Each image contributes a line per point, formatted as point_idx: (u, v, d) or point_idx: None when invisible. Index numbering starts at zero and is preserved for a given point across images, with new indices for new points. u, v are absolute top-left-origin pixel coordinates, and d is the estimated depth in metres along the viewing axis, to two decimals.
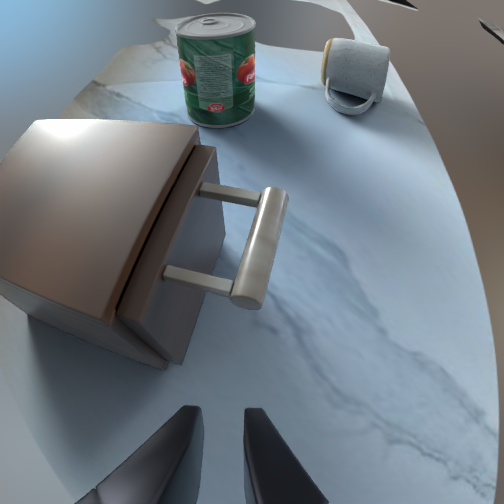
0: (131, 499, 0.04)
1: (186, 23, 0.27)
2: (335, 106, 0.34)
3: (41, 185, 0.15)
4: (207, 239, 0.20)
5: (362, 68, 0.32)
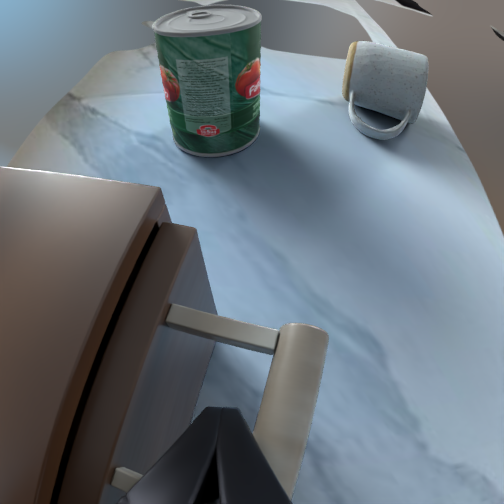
0: None
1: (169, 18, 0.20)
2: (361, 128, 0.27)
3: None
4: (190, 362, 0.12)
5: (396, 80, 0.24)
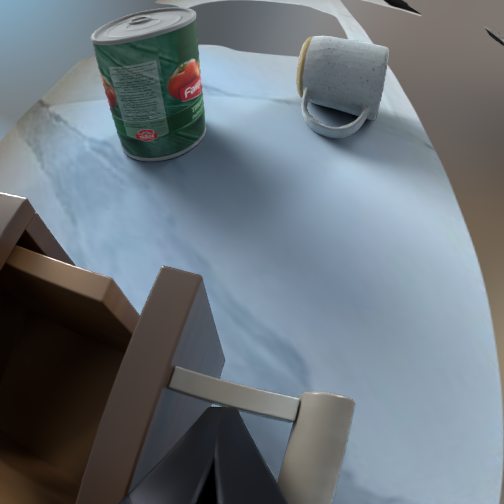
0: None
1: (111, 25, 0.19)
2: (313, 127, 0.26)
3: None
4: (194, 409, 0.11)
5: (350, 74, 0.24)
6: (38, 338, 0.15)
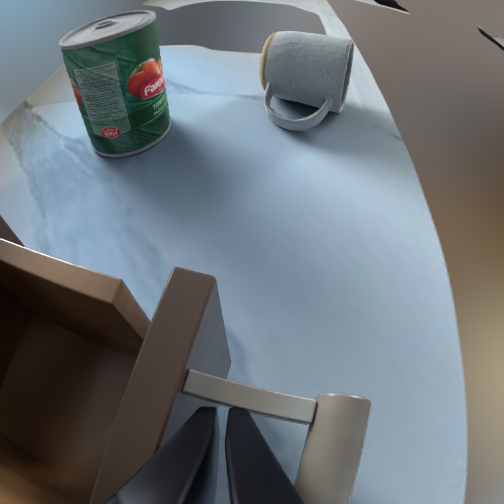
0: (155, 503, 0.04)
1: (80, 30, 0.19)
2: (274, 120, 0.27)
3: None
4: None
5: (311, 66, 0.24)
6: (40, 340, 0.14)
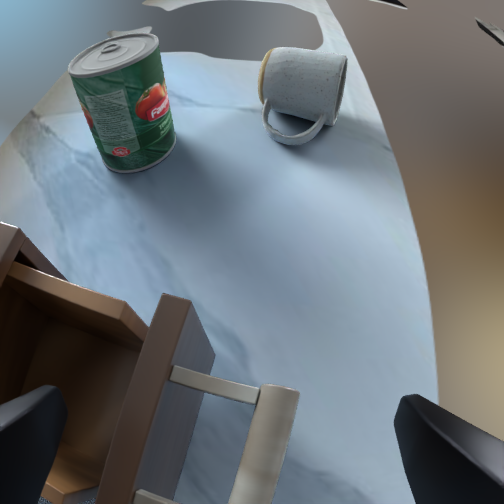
0: None
1: (87, 53, 0.22)
2: (272, 136, 0.30)
3: None
4: (189, 396, 0.14)
5: (306, 85, 0.27)
6: (57, 340, 0.18)
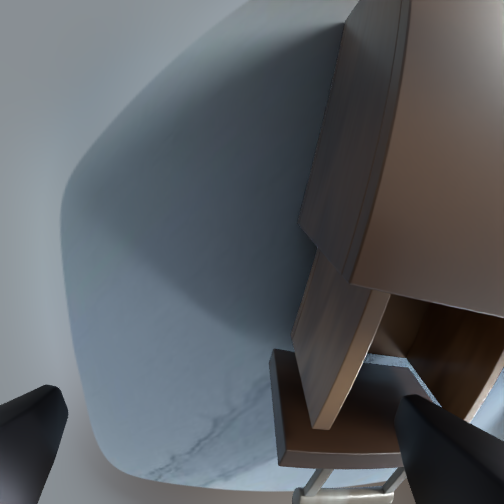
0: None
1: None
2: None
3: None
4: None
5: None
6: None
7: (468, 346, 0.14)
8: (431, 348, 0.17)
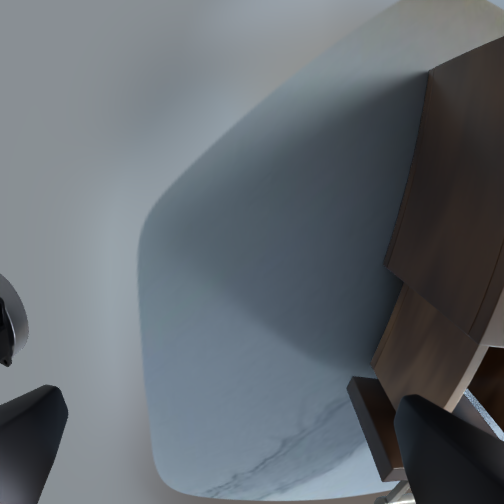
0: None
1: None
2: None
3: None
4: None
5: None
6: None
7: None
8: (483, 370, 0.17)
